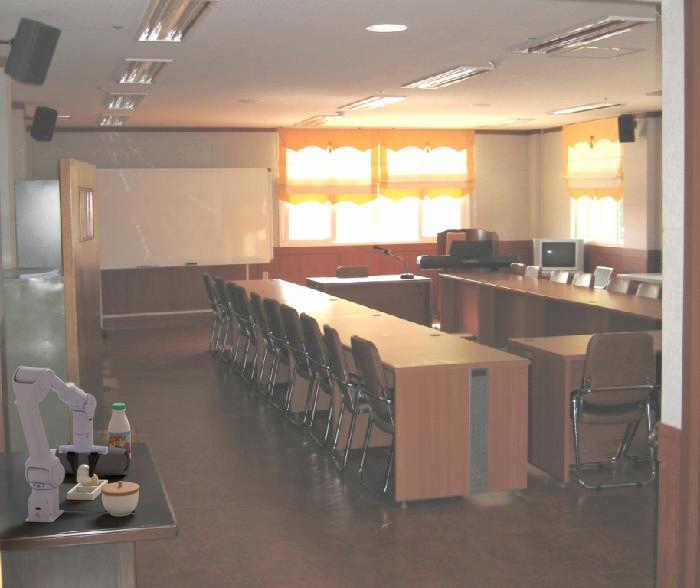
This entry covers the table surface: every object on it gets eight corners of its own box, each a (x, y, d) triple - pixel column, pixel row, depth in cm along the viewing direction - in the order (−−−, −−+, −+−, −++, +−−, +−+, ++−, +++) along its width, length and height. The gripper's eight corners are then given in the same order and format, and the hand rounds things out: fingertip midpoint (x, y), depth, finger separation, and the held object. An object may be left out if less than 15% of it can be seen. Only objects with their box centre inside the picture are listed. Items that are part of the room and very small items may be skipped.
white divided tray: (93, 501, 291) (92, 493, 291) (67, 501, 292) (66, 492, 292) (107, 487, 305) (107, 480, 305) (83, 487, 306) (82, 479, 306)
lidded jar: (124, 504, 289) (123, 474, 288) (147, 512, 282) (146, 480, 281) (93, 513, 281) (93, 482, 280) (117, 521, 274) (116, 489, 273)
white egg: (91, 482, 294) (91, 466, 293) (77, 483, 292) (77, 467, 292) (90, 478, 298) (90, 462, 297) (76, 479, 296) (76, 463, 296)
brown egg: (95, 491, 300) (95, 475, 299) (82, 491, 300) (82, 475, 299) (100, 487, 304) (100, 471, 303) (87, 487, 304) (86, 471, 304)
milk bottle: (107, 458, 339) (106, 402, 337) (129, 457, 341) (129, 401, 339) (108, 464, 332) (107, 406, 330) (131, 462, 334) (131, 405, 332)
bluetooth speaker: (131, 473, 321) (130, 444, 320) (121, 482, 312) (121, 451, 311) (64, 471, 324) (64, 441, 323) (53, 479, 314) (52, 449, 313)
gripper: (110, 429, 297) (111, 473, 298) (64, 428, 298) (65, 471, 299) (103, 435, 290) (104, 480, 291) (55, 434, 291) (56, 478, 292)
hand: (83, 476), depth 295 cm, fingers closed on white egg, 4 cm apart
